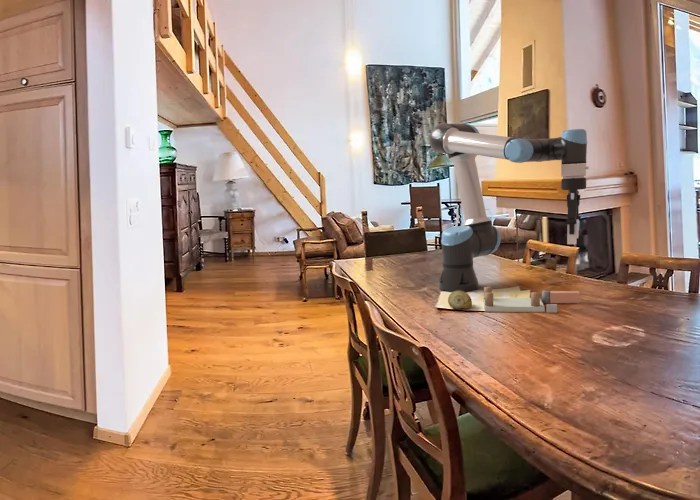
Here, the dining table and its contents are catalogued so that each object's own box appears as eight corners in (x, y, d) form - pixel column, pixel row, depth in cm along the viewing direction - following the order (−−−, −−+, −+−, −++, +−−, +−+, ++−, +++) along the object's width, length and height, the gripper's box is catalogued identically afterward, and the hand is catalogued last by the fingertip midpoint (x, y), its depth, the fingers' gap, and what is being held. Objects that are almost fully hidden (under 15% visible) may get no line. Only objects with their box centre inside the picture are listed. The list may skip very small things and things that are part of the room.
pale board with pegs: (484, 312, 154) (484, 295, 153) (483, 302, 165) (483, 286, 165) (557, 312, 149) (557, 294, 148) (550, 302, 160) (550, 286, 159)
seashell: (458, 316, 166) (442, 298, 167) (473, 302, 166) (457, 284, 167) (462, 318, 156) (445, 300, 157) (478, 304, 156) (461, 285, 157)
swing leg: (542, 303, 160) (542, 292, 159) (541, 301, 162) (541, 290, 162) (579, 303, 157) (579, 292, 156) (578, 301, 159) (578, 290, 159)
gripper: (585, 178, 147) (584, 247, 150) (587, 175, 169) (586, 236, 172) (558, 179, 150) (557, 246, 154) (564, 176, 172) (563, 235, 175)
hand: (573, 241), depth 163 cm, fingers open, 13 cm apart
